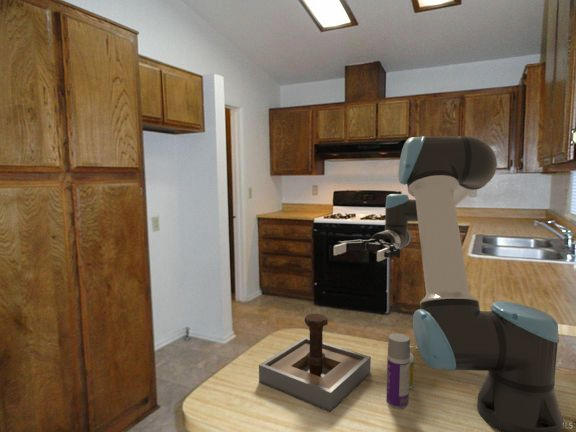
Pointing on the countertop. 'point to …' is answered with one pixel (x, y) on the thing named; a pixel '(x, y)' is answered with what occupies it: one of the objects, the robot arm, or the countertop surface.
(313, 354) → the bolt
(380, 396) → the countertop surface
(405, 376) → the container
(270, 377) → the open box
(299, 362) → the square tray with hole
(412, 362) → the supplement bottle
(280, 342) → the countertop surface
